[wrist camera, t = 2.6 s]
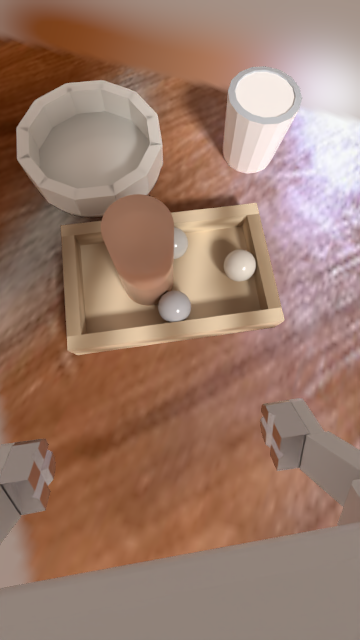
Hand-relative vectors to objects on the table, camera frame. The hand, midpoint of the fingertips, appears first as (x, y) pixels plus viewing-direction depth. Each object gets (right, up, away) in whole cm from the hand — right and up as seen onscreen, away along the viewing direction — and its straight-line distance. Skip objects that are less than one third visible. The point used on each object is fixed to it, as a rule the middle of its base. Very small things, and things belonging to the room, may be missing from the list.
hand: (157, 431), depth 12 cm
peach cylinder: (-2, +8, +18) cm, 20 cm away
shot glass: (+9, +23, +24) cm, 34 cm away
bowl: (-8, +22, +22) cm, 33 cm away
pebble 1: (-1, +12, +17) cm, 20 cm away
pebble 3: (+6, +9, +19) cm, 22 cm away
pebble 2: (-1, +5, +16) cm, 16 cm away
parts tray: (0, +8, +19) cm, 21 cm away
